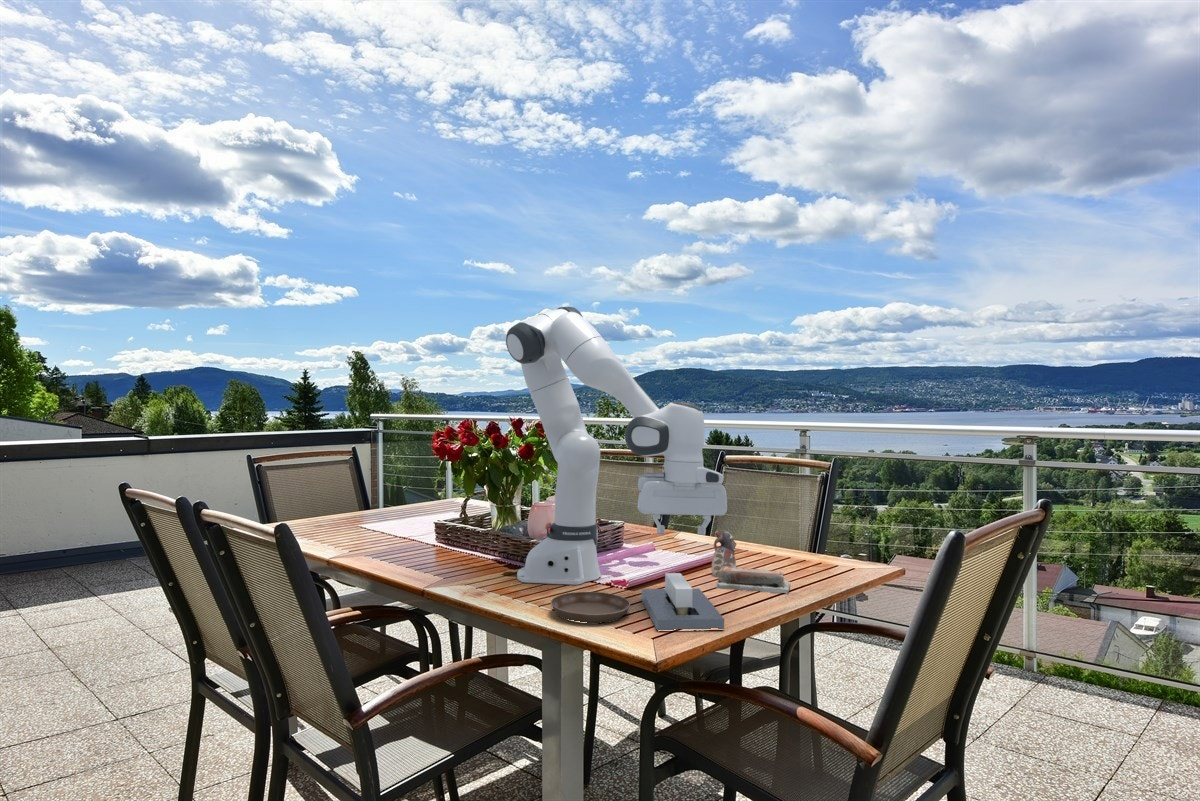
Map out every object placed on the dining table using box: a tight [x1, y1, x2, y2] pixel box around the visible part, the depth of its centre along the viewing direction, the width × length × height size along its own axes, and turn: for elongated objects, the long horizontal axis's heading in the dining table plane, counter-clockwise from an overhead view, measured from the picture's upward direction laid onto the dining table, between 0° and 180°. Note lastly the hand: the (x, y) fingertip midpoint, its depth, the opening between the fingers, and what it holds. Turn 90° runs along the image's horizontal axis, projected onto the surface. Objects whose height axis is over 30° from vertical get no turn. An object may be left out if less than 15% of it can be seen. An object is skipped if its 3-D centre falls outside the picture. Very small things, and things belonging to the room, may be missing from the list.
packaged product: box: [715, 566, 791, 594], centre depth 189 cm, size 18×5×10 cm
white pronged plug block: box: [664, 572, 693, 615], centre depth 166 cm, size 14×4×7 cm, turn 5°
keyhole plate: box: [641, 588, 725, 631], centre depth 164 cm, size 24×14×2 cm, turn 5°
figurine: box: [711, 530, 738, 578], centre depth 201 cm, size 7×7×12 cm
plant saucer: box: [550, 591, 631, 623], centre depth 164 cm, size 18×18×3 cm
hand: (681, 534), depth 167 cm, fingers open, 8 cm apart
